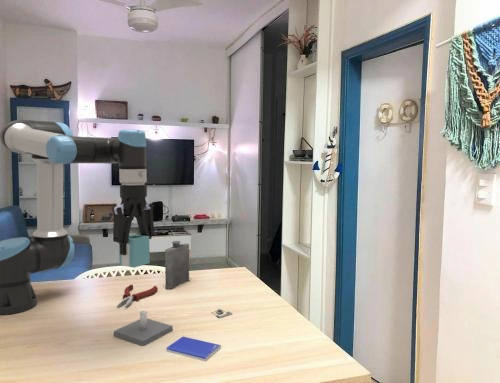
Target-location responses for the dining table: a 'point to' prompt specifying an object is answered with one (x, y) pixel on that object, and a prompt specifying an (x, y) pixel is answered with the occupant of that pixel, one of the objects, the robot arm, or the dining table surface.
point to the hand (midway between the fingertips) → (135, 263)
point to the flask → (176, 265)
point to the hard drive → (193, 348)
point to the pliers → (135, 295)
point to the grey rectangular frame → (221, 313)
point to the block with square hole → (138, 250)
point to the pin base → (143, 330)
